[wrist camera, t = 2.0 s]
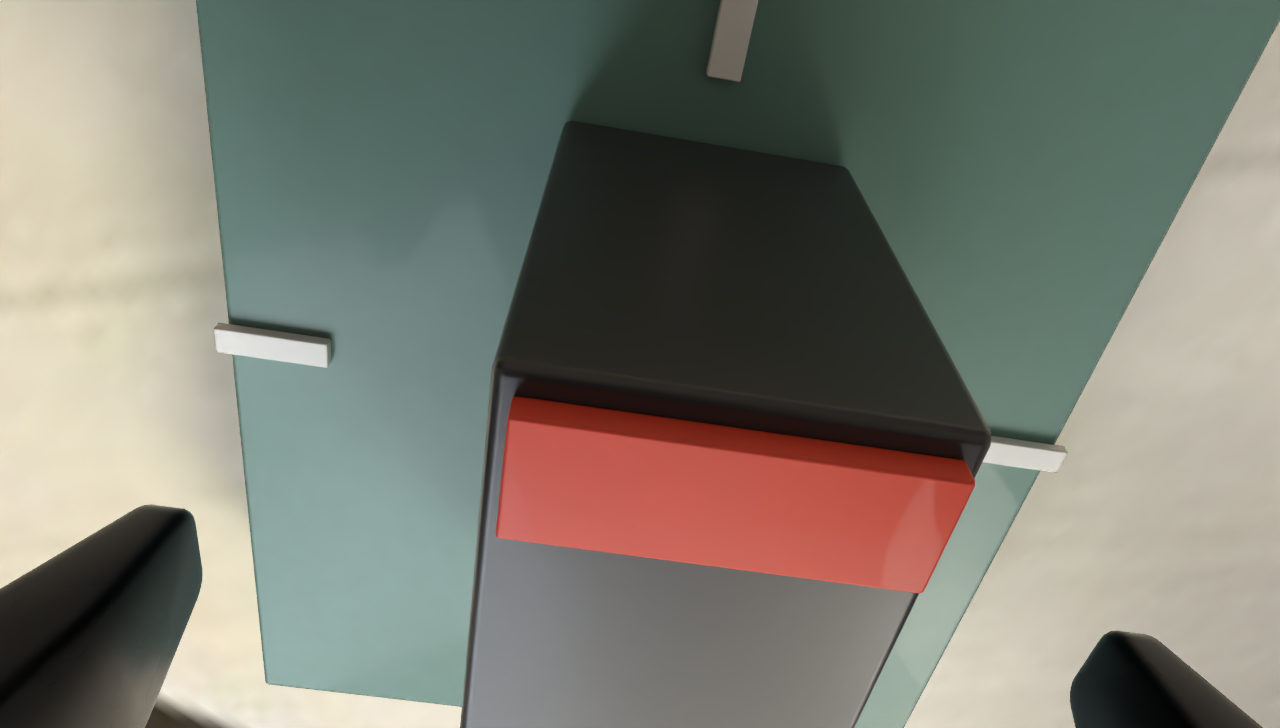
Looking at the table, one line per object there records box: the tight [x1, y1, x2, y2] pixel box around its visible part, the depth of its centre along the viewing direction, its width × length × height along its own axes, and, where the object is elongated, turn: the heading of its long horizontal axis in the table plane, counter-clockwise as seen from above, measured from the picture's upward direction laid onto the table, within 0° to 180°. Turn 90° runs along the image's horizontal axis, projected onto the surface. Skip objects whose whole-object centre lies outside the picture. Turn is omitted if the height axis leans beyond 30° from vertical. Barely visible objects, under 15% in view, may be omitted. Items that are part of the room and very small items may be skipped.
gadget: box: [460, 121, 991, 728], centre depth 9 cm, size 7×3×5 cm, turn 171°
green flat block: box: [196, 0, 1280, 728], centre depth 12 cm, size 14×11×3 cm
